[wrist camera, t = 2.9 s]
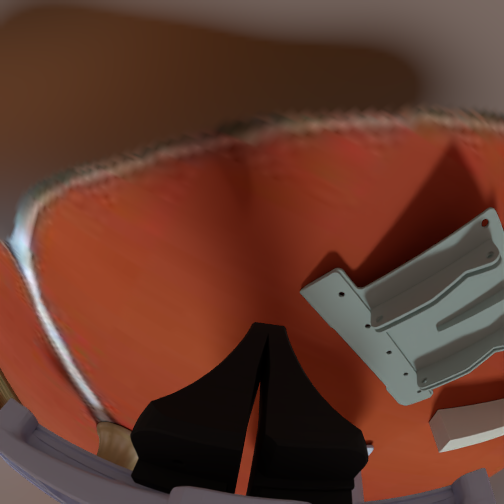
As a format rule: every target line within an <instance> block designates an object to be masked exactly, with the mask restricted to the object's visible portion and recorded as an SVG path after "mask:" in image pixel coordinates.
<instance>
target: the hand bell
mask: <svg viewBox="0 0 504 504" xmlns="http://www.w3.org/2000/svg"><path fill="white" fill-rule="evenodd" d="M131 432H132V431H130V430H128V429H126V428H124V427H122V426H119V425H117V424H113V423H110V422H100V423H98V424H97V433H98V435H99V449H98V453H97V456H98V457H101V458H103V459H105V460H107V461H110V462H112V463H114V464H117V465H119V466H122V467H124V468H127V469H129V470H132V471H133V469H134V467H135V465H136V463H137V461H138V456H137V453H136V451H135V449H134V447H133V444H132V442H131V438H130V434H131Z"/></svg>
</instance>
